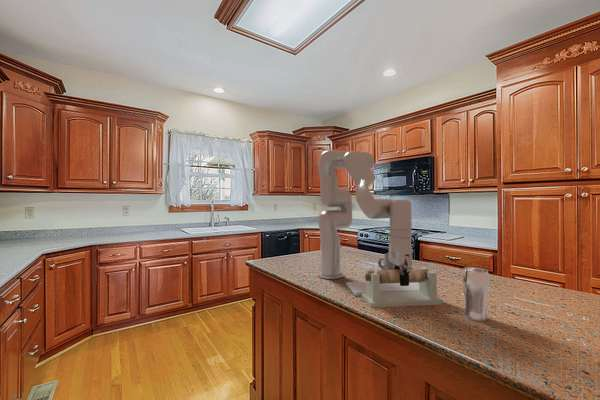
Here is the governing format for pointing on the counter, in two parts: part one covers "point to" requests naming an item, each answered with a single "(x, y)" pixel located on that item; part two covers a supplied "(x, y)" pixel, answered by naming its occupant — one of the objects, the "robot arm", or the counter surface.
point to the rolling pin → (394, 276)
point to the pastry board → (381, 287)
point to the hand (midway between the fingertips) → (400, 282)
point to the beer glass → (475, 292)
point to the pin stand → (401, 292)
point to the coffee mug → (386, 263)
